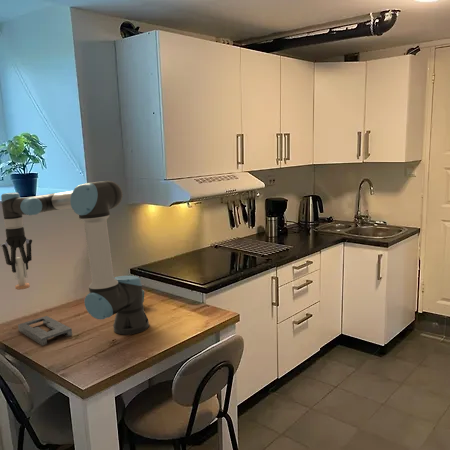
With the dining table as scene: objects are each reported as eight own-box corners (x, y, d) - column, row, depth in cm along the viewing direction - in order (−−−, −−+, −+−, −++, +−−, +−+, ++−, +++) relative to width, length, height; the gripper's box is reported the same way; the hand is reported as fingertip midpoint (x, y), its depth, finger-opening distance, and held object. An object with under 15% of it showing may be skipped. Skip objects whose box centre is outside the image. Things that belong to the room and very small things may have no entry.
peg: (31, 286, 204) (28, 257, 202) (18, 290, 200) (14, 260, 198) (26, 284, 209) (22, 255, 206) (13, 288, 204) (9, 258, 202)
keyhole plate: (72, 335, 191) (71, 328, 190) (42, 345, 181) (41, 338, 181) (47, 321, 207) (46, 315, 207) (18, 330, 198) (17, 324, 198)
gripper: (29, 223, 208) (35, 272, 212) (-8, 229, 197) (-1, 280, 201) (35, 225, 203) (42, 275, 207) (-2, 231, 192) (6, 283, 195)
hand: (21, 277), depth 204 cm, fingers closed on peg, 3 cm apart
